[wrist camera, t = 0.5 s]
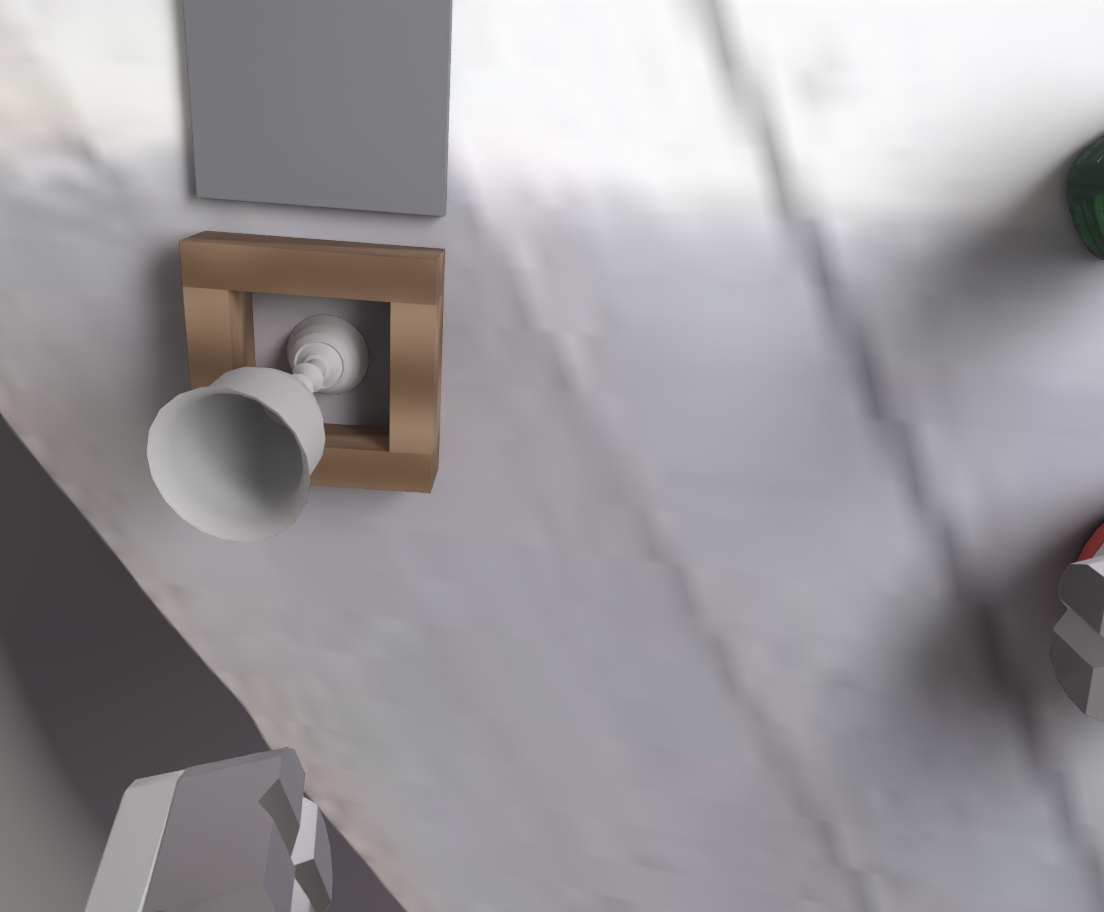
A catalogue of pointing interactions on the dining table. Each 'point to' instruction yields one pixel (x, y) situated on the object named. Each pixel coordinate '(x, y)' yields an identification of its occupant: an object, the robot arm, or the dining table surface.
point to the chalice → (254, 435)
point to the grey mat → (321, 102)
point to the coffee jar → (1088, 197)
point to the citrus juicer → (1093, 545)
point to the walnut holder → (335, 272)
